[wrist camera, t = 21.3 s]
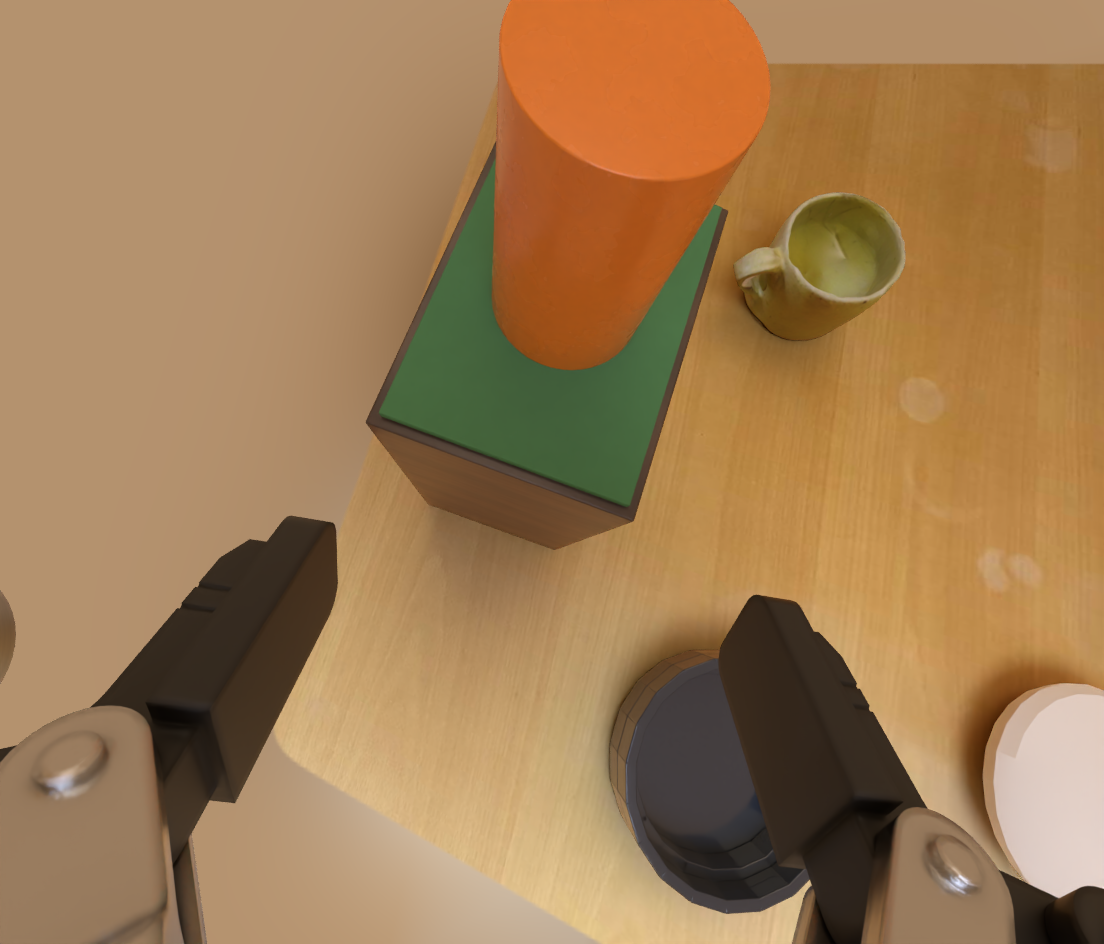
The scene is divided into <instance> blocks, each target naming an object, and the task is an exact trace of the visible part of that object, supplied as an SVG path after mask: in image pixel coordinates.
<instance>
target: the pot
mask: <svg viewBox="0 0 1104 944" xmlns="http://www.w3.org/2000/svg"><path fill="white" fill-rule="evenodd" d="M719 652H720V650H689V651H687V652H684V653H681V654H678V655H676V656H673V657H670V658H667V659H664V660H663V661H661V662H660V663H658V664H657V665H656V666H655V667H653V668H652V669H651V670H650V671H649V672H647V673H646V674H645V675H644V676H642V677H641V678H640V679H639V680H638V681H637V682H636V684H635V685H634V687H633V688H632V690H631V692H630V693H629V695H628V696H627V698H626V699H625V701H624V702H623V704H622V706H621V707H620V710H619V713H618V717H617V720H616V724H615V727H614V731H613V734H612V738H611V741H610V742H611V743H610V780H611V784H612V787H613V790H614V794H615V797H616V801H617V804H618V808H619V811H620V814H621V816H622V818H623V819H624V821H625V823H626V825H627V826H628V828H629V830H630V832H631V833H632V835H633V837H634V838H635V840H636V842H637V844H638V845H639V847H640V848H641V850H642V851H643V853H644V855H645V856H646V858H647V859H648V861H649V862H650V864H651V865H652V867H653V868H654V870H655V871H656V873H657V874H658V876H659V877H660V878H661V879H662V880H663V881H664V882H666V883H667V884H668V885H669V886H671V887H672V888H673V889H675V890H676V891H677V892H678V893H680V894H681V895H682V896H683V897H685V898H686V899H687V900H688V901H690V902H691V903H694V904H697V905H701V906H704V907H707V908H710V909H713V910H716V911H719V912H722V913H726V914H731V913H745V912H760V911H763V910H765V909H767V908H769V907H771V906H774V905H776V904H778V903H780V902H782V901H784V900H786V899H788V898H790V897H792V896H794V895H795V894H796V893H797V892H798V891H799V890H800V889H801V888H802V887H803V886H804V885H805V884H806V883H807V882H808V881H809V880H810V878H809V875H808V872H807V869H799V868H790V867H781V866H778V864H777V860H776V857H775V854H774V851H773V847H772V844H771V841H770V837H769V834H768V831H767V828H766V824H765V821H764V818H763V815H762V811H761V808H760V805H759V802H758V798H757V795H756V792H755V789H754V785H753V782H752V779H751V776H750V772H749V769H748V766H747V762H746V759H745V756H744V753H743V749H742V746H741V743H740V740H739V736H738V733H737V730H736V727H735V723H734V720H733V717H732V714H731V710H730V707H729V704H728V700H727V697H726V694H725V691H724V687H723V684H722V681H721V678H720V674H719V666H718V660H719Z"/></svg>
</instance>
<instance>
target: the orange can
mask: <svg viewBox="0 0 1104 944" xmlns="http://www.w3.org/2000/svg"><path fill="white" fill-rule="evenodd" d="M498 67H499V68H498V99H497V133H496V166H495V199H494V232H493V265H492V307H493V311H494V315H495V318H496V321H497V323H498V326H499V327H500V329H501V331H502V332H503V334H504V335H505V337H506V338H507V339H508V341H509V342H510V343H511V344H512V345H513V346H514V347H515V348H516V349H517V350H518V351H520V352H521V353H522V354H523V355H525V356H526V357H528V358H530V359H531V360H533V361H535V362H537V363H540V364H542V365H545V366H548V367H551V368H556V369H561V370H582V369H587V368H592V367H595V366H598V365H601V364H603V363H605V362H607V361H609V360H610V359H612V358H613V357H615V356H616V355H617V354H618V353H619V352H621V351H622V350H623V349H624V347H625V346H626V345H627V344H628V342H629V341H630V339H631V338H632V336H633V334H634V333H635V331H636V330H637V328H638V326H639V325H640V323H641V322H642V320H643V318H644V317H645V315H646V314H647V312H648V310H649V309H650V307H651V306H652V304H653V302H654V301H655V299H656V298H657V296H658V294H659V293H660V291H661V289H662V288H663V286H664V285H665V283H666V281H667V280H668V278H669V277H670V275H671V273H672V272H673V270H674V269H675V267H676V265H677V264H678V262H679V261H680V259H681V257H682V256H683V254H684V253H685V251H686V249H687V248H688V246H689V244H690V243H691V241H692V240H693V238H694V236H695V235H696V233H697V232H698V230H699V228H700V227H701V225H702V224H703V222H704V220H705V219H706V217H707V216H708V214H709V212H710V211H711V209H712V208H713V206H714V204H715V203H716V201H717V200H718V198H719V196H720V195H721V193H722V191H723V190H724V188H725V187H726V185H727V183H728V182H729V180H730V179H731V177H732V175H733V174H734V172H735V171H736V169H737V167H738V166H739V164H740V163H741V161H742V159H743V158H744V156H745V155H746V153H747V151H748V150H749V148H750V147H751V145H752V143H753V142H754V140H755V138H756V137H757V135H758V133H759V132H760V130H761V128H762V126H763V123H764V121H765V118H766V116H767V111H768V106H769V102H770V76H769V69H768V65H767V61H766V57H765V55H764V52H763V49H762V47H761V44H760V42H759V40H758V38H757V36H756V35H755V33H754V31H753V29H752V28H751V26H750V25H749V23H748V22H747V21H746V19H745V18H744V16H743V15H742V14H741V13H740V12H739V10H738V9H737V8H736V7H735V6H734V5H733V4H732V3H731V2H730V1H729V0H511V1H510V2H509V4H508V6H507V9H506V11H505V14H504V17H503V20H502V24H501V29H500V36H499V66H498Z"/></svg>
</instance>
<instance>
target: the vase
mask: <svg viewBox="0 0 1104 944" xmlns="http://www.w3.org/2000/svg"><path fill="white" fill-rule="evenodd" d="M982 777H983V786H984V796H985V805H986V809H987V813H988V816H989V819H990V822H991V825H992V828H993V831H994V835H995V837H996V839H997V841H998V843H999V844H1000V846H1001V848H1002V850H1003V852H1004V853H1005V855H1006V857H1007V859H1008V861H1009V862H1010V864H1011V865H1012V866H1013V868H1014V869H1015V870H1016V871H1017V872H1018V873H1019V874H1020V876H1021V877H1022V878H1023V879H1024V880H1025V881H1026V882H1027V883H1028V884H1030V885H1032V886H1034V887H1036V888H1038V889H1040V890H1043V891H1045V892H1047V893H1049V894H1051V895H1053V896H1055V897H1058V898H1060V897H1062V896H1064V895H1066V894H1068V893H1070V892H1072V891H1074V890H1076V889H1078V888H1080V887H1083V886H1096V887H1099V888H1103V889H1104V690H1101V689H1098V688H1095V687H1093V686H1090V685H1087V684H1072V683H1059V684H1052V685H1046V686H1043V687H1039V688H1036V689H1032V690H1029V691H1026V692H1025V693H1023V694H1022V695H1021V696H1019V697H1018V698H1016V699H1015V700H1014V701H1012V702H1011V703H1009V704H1008V706H1007V707H1006V708H1005V710H1004V711H1003V713H1002V714H1001V715H1000V717H999V718H998V719H997V721H996V722H995V724H994V726H993V729H992V732H991V735H990V737H989V740H988V743H987V745H986V749H985V758H984V767H983V776H982Z"/></svg>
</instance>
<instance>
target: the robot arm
mask: <svg viewBox="0 0 1104 944" xmlns="http://www.w3.org/2000/svg"><path fill="white" fill-rule="evenodd" d="M337 584H338V576H337V544H336V528H335V525H334V524H333V523H331V522H325V521H320V520H314V519H308V518H302V517H296V516H288V517H286V518H285V519H284V520H283V521H282V522H281V524H280V525H279V527H278V528H277V529H276V530H275V532H274V533H273V534H272V536H271V537H270V538H269V540H268V541H267V542H264V541H258V540H251V539H250V540H248V541H246V542H245V543H243V544H242V545H240V546H239V547H237V548H235V549H233V550H232V551H230V552H229V553H227V554H225V555H224V556H222V557H221V558H219V560H218V561H217V562H216V563H215V564H214V566H213V567H212V568H211V569H210V570H209V571H208V573H207V574H206V575H205V576H204V577H203V578H202V580H201V581H200V582H199V586H198V587H195V588H194V589H193V590H192V592H191V593H190V594H189V595H188V596H187V597H186V599H185V600H184V601H183V602H182V606H181V608H180V609H179V608H177V609H176V610H175V612H174V613H173V614H172V615H171V616H170V617H169V618H168V620H167V621H166V622H165V623H164V624H163V626H162V627H161V628H160V629H159V630H158V632H157V633H156V634H155V635H154V636H153V637H152V639H151V640H150V641H149V642H148V643H147V645H146V646H145V647H144V648H143V649H142V651H141V652H140V653H139V654H138V655H137V656H136V657H135V659H134V660H133V661H132V662H131V663H130V664H129V666H128V667H127V668H126V669H125V670H124V672H123V673H122V674H121V675H120V676H119V678H118V679H117V680H116V681H115V682H114V683H113V685H112V686H111V687H110V688H109V689H108V691H107V692H106V693H105V694H104V695H103V696H102V697H101V698H100V699H99V700H98V701H97V702H96V703H95V704H93V705H92V706H91V707H90V708H87V709H83V710H80V711H76V712H73V713H71V714H68V715H65V716H63V717H61V718H58V719H56V720H54V721H52V722H51V723H49V724H47V725H45V726H43V727H42V728H40V729H38V730H37V731H35V732H33V733H32V734H31V735H29V736H28V737H27V738H26V739H24V740H23V741H22V742H20V743H19V744H18V745H16V746H13V747H8V748H3V749H0V944H207V940H206V933H205V927H204V918H203V911H202V904H201V897H200V890H199V882H198V875H197V868H196V861H195V854H194V847H193V840H192V834H191V833H192V831H193V829H194V828H195V826H196V824H197V822H198V820H199V818H200V816H201V815H202V813H203V811H204V809H205V807H206V806H207V803H208V802H209V800H212V801H221V802H231V803H235V802H236V800H237V798H238V796H239V794H240V792H241V790H242V788H243V786H244V784H245V782H246V780H247V778H248V776H249V774H250V772H251V770H252V768H253V766H254V764H255V762H256V760H257V758H258V756H259V754H260V752H261V750H262V748H263V746H264V744H265V743H266V740H267V738H268V737H269V734H270V733H271V730H272V729H273V727H274V725H275V723H276V721H277V719H278V717H279V715H280V713H281V711H282V709H283V707H284V705H285V703H286V701H287V699H288V697H289V695H290V693H291V691H292V689H293V687H294V685H295V683H296V681H297V679H298V677H299V675H300V673H301V671H302V669H303V667H304V665H305V663H306V661H307V659H308V657H309V655H310V653H311V651H312V649H313V647H314V645H315V643H316V641H317V639H318V637H319V635H320V633H321V631H322V629H323V627H324V625H325V623H326V621H327V619H328V617H329V615H330V613H331V610H332V607H333V604H334V601H335V597H336V592H337ZM718 666H719V674H720V678H721V681H722V684H723V687H724V691H725V694H726V697H727V700H728V704H729V707H730V710H731V714H732V717H733V720H734V723H735V727H736V730H737V733H738V736H739V740H740V743H741V746H742V749H743V753H744V756H745V759H746V762H747V766H748V769H749V772H750V776H751V779H752V782H753V785H754V789H755V792H756V795H757V798H758V802H759V805H760V808H761V811H762V815H763V818H764V821H765V824H766V828H767V831H768V834H769V837H770V841H771V844H772V847H773V851H774V854H775V857H776V860H777V864H778V866H781V867H790V868H799V869H807V872H808V875H809V878H810V881H811V884H812V886H811V887H809V888H808V890H807V891H806V893H805V895H804V898H803V902H802V906H801V910H800V914H799V918H798V922H797V926H796V930H795V934H794V938H793V942H792V944H1104V889H1103V888H1099V887H1096V886H1083V887H1080V888H1078V889H1076V890H1074V891H1072V892H1070V893H1068V894H1066V895H1064V896H1062V897H1060V898H1058V897H1055V896H1053V895H1051V894H1049V893H1047V892H1045V891H1043V890H1040V889H1038V888H1036V887H1034V886H1032V885H1030V884H1028V883H1025V882H1023V881H1021V880H1019V879H1017V878H1015V877H1013V876H1011V875H1008V874H1006V873H1004V872H1002V871H1000V870H998V868H997V867H996V865H995V864H994V862H993V861H992V860H991V858H990V857H989V856H988V854H987V853H986V852H985V851H984V849H983V848H982V847H981V846H980V845H979V844H978V843H977V842H976V841H975V840H974V839H973V838H972V837H971V836H970V835H969V834H968V833H967V832H966V831H965V830H963V829H962V828H961V827H960V826H958V825H957V824H956V823H954V822H953V821H951V820H950V819H948V818H946V817H945V816H943V815H941V814H939V813H937V812H935V811H932V810H929V809H928V808H927V807H926V805H925V804H924V802H923V800H922V799H921V797H920V795H919V793H918V792H917V790H916V788H915V786H914V784H913V783H912V781H911V779H910V777H909V776H908V774H907V772H906V770H905V768H904V767H903V765H902V763H901V761H900V759H899V758H898V756H897V754H896V752H895V751H894V749H893V747H892V745H891V743H890V742H889V740H888V738H887V736H886V735H885V733H884V731H883V729H882V727H881V726H880V724H879V722H878V720H877V719H876V717H875V715H874V713H873V712H870V711H869V704H868V703H867V701H866V699H865V697H864V695H863V694H862V692H861V690H860V689H857V687H856V684H857V683H856V681H855V679H854V678H853V676H852V674H851V672H850V670H849V669H848V667H847V665H846V663H845V662H844V660H843V658H842V656H841V655H840V654H839V653H838V652H837V651H836V650H835V649H834V648H833V647H832V646H831V645H830V644H829V643H828V641H827V640H826V639H825V638H824V637H823V636H822V635H821V634H820V633H819V632H814V631H813V629H812V627H811V626H810V624H809V622H808V620H807V618H806V616H805V614H804V612H803V611H802V609H801V607H800V606H799V605H798V604H797V603H796V602H794V601H791V600H785V599H779V598H773V597H767V596H761V595H753V596H752V597H751V598H749V600H748V601H747V603H746V604H745V606H744V608H743V609H742V611H741V613H740V614H739V616H738V618H737V619H736V621H735V623H734V624H733V626H732V628H731V629H730V631H729V633H728V634H727V636H726V638H725V639H724V641H723V643H722V645H721V648H720V652H719V660H718Z"/></svg>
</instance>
